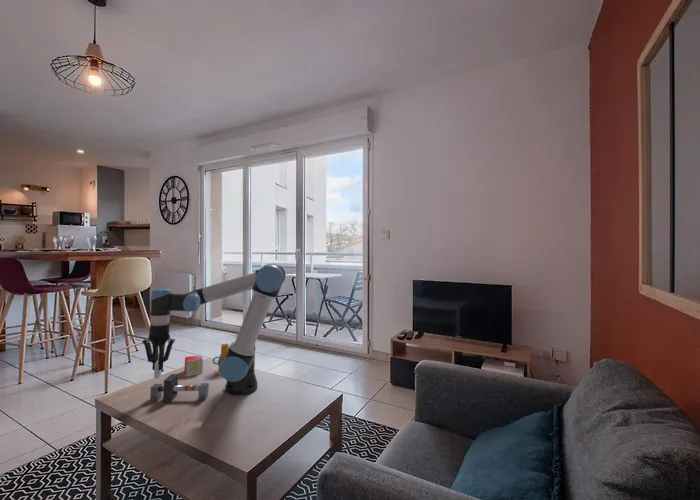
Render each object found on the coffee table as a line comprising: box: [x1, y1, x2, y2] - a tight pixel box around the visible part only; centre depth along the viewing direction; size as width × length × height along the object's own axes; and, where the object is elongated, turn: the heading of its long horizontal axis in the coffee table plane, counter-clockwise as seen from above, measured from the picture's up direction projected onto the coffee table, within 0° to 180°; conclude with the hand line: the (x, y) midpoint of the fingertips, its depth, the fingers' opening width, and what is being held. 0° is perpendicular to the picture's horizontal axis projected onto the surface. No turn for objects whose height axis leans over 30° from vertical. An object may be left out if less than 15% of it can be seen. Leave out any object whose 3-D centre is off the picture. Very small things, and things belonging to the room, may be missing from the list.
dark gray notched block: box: [162, 373, 179, 404], centre depth 145 cm, size 3×8×10 cm, turn 7°
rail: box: [149, 382, 210, 402], centre depth 146 cm, size 23×7×7 cm, turn 97°
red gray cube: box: [184, 354, 204, 377], centre depth 180 cm, size 8×8×8 cm
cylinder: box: [212, 343, 230, 374], centre depth 183 cm, size 12×10×15 cm
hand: (157, 377), depth 145 cm, fingers closed
